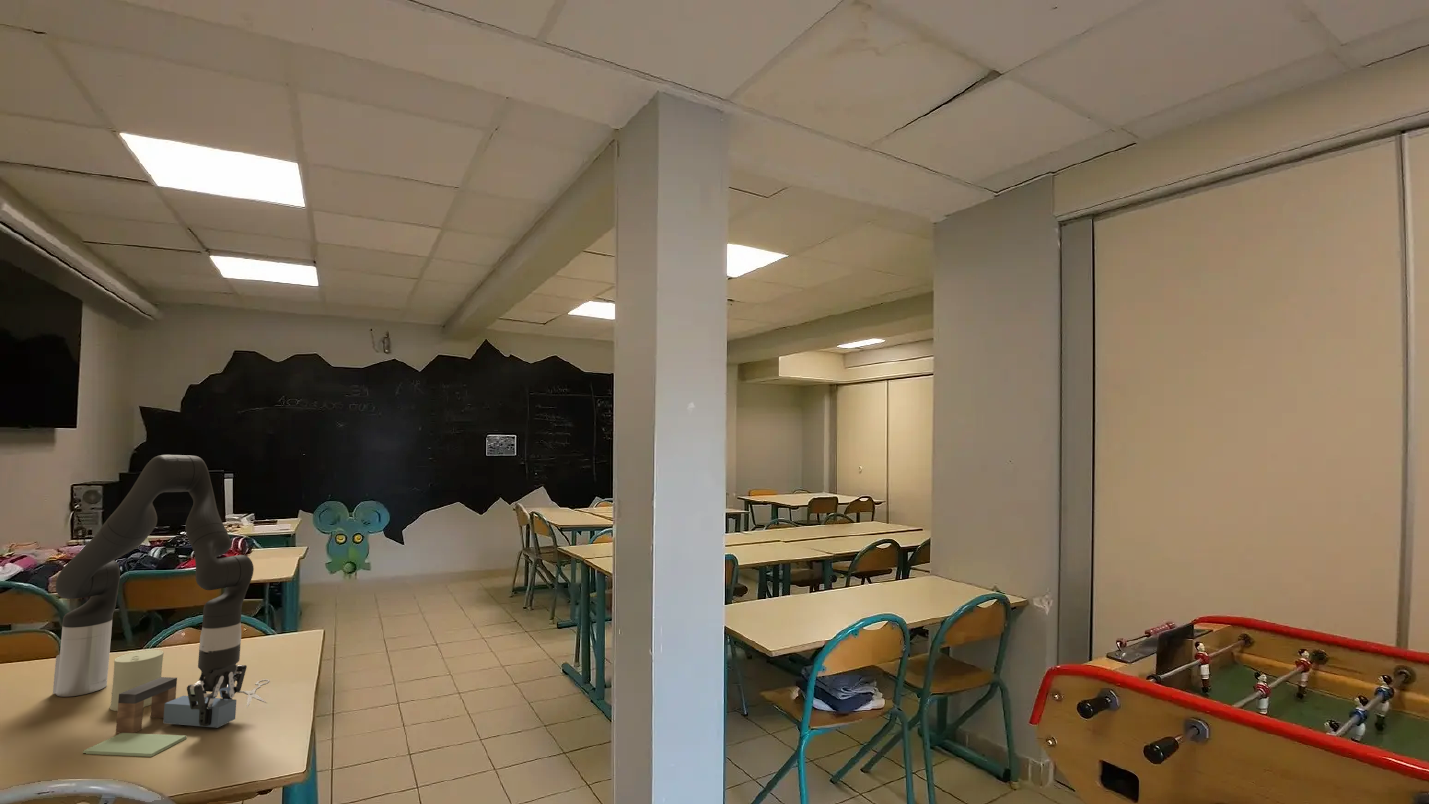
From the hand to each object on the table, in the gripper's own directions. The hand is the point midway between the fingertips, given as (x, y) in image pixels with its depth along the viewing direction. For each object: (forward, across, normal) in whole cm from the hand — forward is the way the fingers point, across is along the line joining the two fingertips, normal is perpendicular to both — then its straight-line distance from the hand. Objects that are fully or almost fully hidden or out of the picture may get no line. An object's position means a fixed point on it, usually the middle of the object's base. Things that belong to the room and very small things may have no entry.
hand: (215, 719), depth 141 cm
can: (+2, -10, -30) cm, 31 cm away
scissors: (+2, -18, -7) cm, 19 cm away
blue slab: (+1, 0, -4) cm, 4 cm away
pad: (+1, +10, -9) cm, 13 cm away
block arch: (+1, 0, -17) cm, 17 cm away
